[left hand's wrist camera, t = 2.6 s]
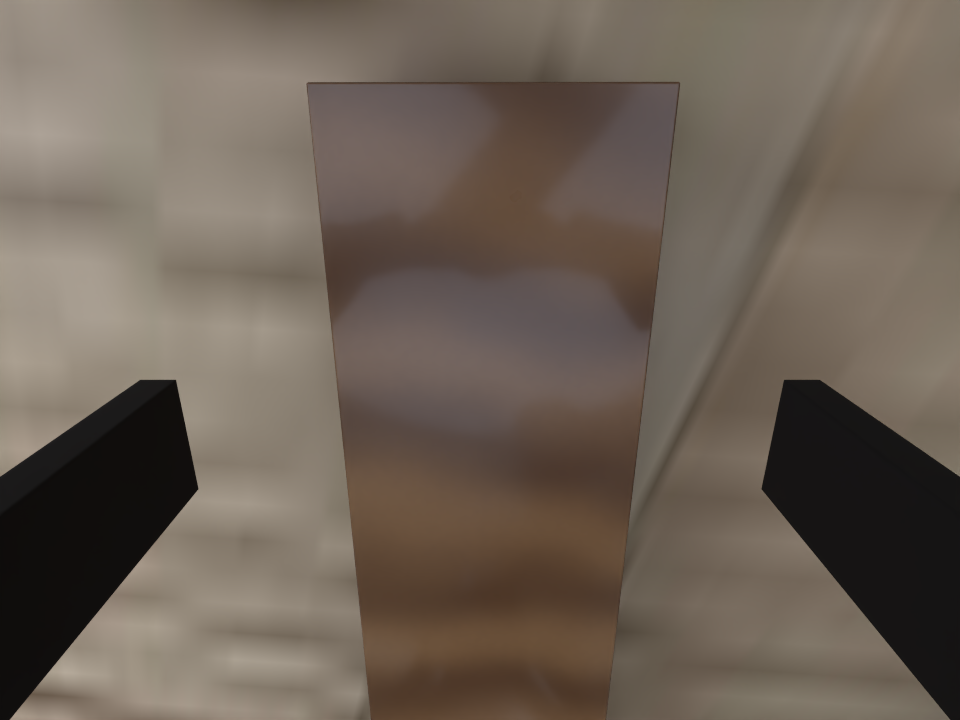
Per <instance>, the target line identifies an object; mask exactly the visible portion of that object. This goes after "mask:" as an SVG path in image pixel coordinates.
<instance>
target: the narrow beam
mask: <svg viewBox="0 0 960 720" xmlns="http://www.w3.org/2000/svg"><path fill="white" fill-rule="evenodd" d="M679 88H680V83H679V82H308V83H307V93H308V103H309V112H310V122H311V132H312V142H313V152H314V162H315V172H316V181H317V191H318V201H319V211H320V221H321V231H322V241H323V250H324V260H325V270H326V280H327V290H328V300H329V309H330V319H331V329H332V339H333V349H334V359H335V369H336V378H337V388H338V398H339V408H340V418H341V428H342V437H343V447H344V457H345V467H346V477H347V487H348V497H349V506H350V516H351V526H352V536H353V546H354V556H355V566H356V575H357V585H358V595H359V605H360V615H361V625H362V634H363V644H364V654H365V664H366V674H367V684H368V694H369V703H370V713H371V720H606V714H607V705H608V697H609V688H610V679H611V671H612V662H613V654H614V645H615V637H616V628H617V619H618V611H619V602H620V594H621V585H622V577H623V568H624V559H625V551H626V542H627V534H628V525H629V517H630V508H631V499H632V491H633V482H634V474H635V465H636V457H637V448H638V440H639V431H640V422H641V414H642V405H643V397H644V388H645V380H646V371H647V362H648V354H649V345H650V337H651V328H652V320H653V311H654V302H655V294H656V285H657V277H658V268H659V260H660V251H661V242H662V234H663V225H664V217H665V208H666V200H667V191H668V182H669V174H670V165H671V157H672V148H673V140H674V131H675V122H676V114H677V105H678V97H679Z"/></svg>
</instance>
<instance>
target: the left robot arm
mask: <svg viewBox="0 0 960 720" xmlns="http://www.w3.org/2000/svg"><path fill="white" fill-rule="evenodd" d="M197 490H198V485H197V480H196V475H195V470H194V465H193V460H192V456H191V451H190V446H189V441H188V436H187V431H186V427H185V422H184V417H183V412H182V407H181V402H180V398H179V393H178V388H177V383H176V380H140V381H138V382H137V383H135V384H134V385H132V386H131V387H129V388H128V389H127V390H125V391H124V392H122V393H121V394H119V395H118V396H116V397H115V398H114V399H112V400H111V401H109V402H108V403H106V404H105V405H103V406H102V407H101V408H99V409H98V410H96V411H95V412H93V413H92V414H90V415H89V416H88V417H86V418H85V419H83V420H82V421H80V422H79V423H77V424H76V425H74V426H73V427H72V428H70V429H69V430H67V431H66V432H64V433H63V434H61V435H60V436H59V437H57V438H56V439H54V440H53V441H51V442H50V443H48V444H47V445H46V446H44V447H43V448H41V449H40V450H38V451H37V452H35V453H34V454H33V455H31V456H30V457H28V458H27V459H25V460H24V461H22V462H21V463H20V464H18V465H17V466H15V467H14V468H12V469H11V470H9V471H8V472H7V473H5V474H4V475H2V476H1V477H0V720H10V719H11V717H12V716H13V715H14V714H15V713H16V711H17V710H18V709H19V708H20V706H21V705H22V704H23V703H24V702H25V700H26V699H27V698H28V697H29V695H30V694H31V693H32V692H33V691H34V689H35V688H36V687H37V686H38V684H39V683H40V682H41V681H42V680H43V678H44V677H45V676H46V675H47V673H48V672H49V671H50V670H51V669H52V667H53V666H54V665H55V664H56V662H57V661H58V660H59V659H60V658H61V656H62V655H63V654H64V653H65V651H66V650H67V649H68V648H69V647H70V645H71V644H72V643H73V642H74V640H75V639H76V638H77V637H78V636H79V634H80V633H81V632H82V631H83V629H84V628H85V627H86V626H87V625H88V623H89V622H90V621H91V620H92V618H93V617H94V616H95V615H96V614H97V612H98V611H99V610H100V609H101V607H102V606H103V605H104V604H105V603H106V601H107V600H108V599H109V598H110V596H111V595H112V594H113V593H114V592H115V590H116V589H117V588H118V587H119V585H120V584H121V583H122V582H123V581H124V579H125V578H126V577H127V576H128V574H129V573H130V572H131V571H132V570H133V568H134V567H135V566H136V565H137V563H138V562H139V561H140V560H141V559H142V557H143V556H144V555H145V554H146V552H147V551H148V550H149V549H150V548H151V546H152V545H153V544H154V543H155V541H156V540H157V539H158V538H159V537H160V535H161V534H162V533H163V532H164V530H165V529H166V528H167V527H168V526H169V524H170V523H171V522H172V521H173V519H174V518H175V517H176V516H177V515H178V513H179V512H180V511H181V510H182V509H183V507H184V506H185V505H186V504H187V502H188V501H189V500H190V499H191V498H192V496H193V495H194V494H195V493H196V491H197ZM762 490H763V491H764V493H765V494H766V495H767V496H768V498H769V499H770V500H771V501H772V502H773V504H774V505H775V506H776V507H777V509H778V510H779V511H780V512H781V513H782V515H783V516H784V517H785V518H786V519H787V521H788V522H789V523H790V524H791V526H792V527H793V528H794V529H795V530H796V532H797V533H798V534H799V535H800V537H801V538H802V539H803V540H804V541H805V543H806V544H807V545H808V546H809V548H810V549H811V550H812V551H813V552H814V554H815V555H816V556H817V557H818V559H819V560H820V561H821V562H822V563H823V565H824V566H825V567H826V568H827V570H828V571H829V572H830V573H831V574H832V576H833V577H834V578H835V579H836V581H837V582H838V583H839V584H840V585H841V587H842V588H843V589H844V590H845V592H846V593H847V594H848V595H849V596H850V598H851V599H852V600H853V601H854V603H855V604H856V605H857V606H858V607H859V609H860V610H861V611H862V612H863V614H864V615H865V616H866V617H867V618H868V620H869V621H870V622H871V623H872V625H873V626H874V627H875V628H876V629H877V631H878V632H879V633H880V634H881V636H882V637H883V638H884V639H885V640H886V642H887V643H888V644H889V645H890V647H891V648H892V649H893V650H894V651H895V653H896V654H897V655H898V656H899V658H900V659H901V660H902V661H903V662H904V664H905V665H906V666H907V667H908V669H909V670H910V671H911V672H912V673H913V675H914V676H915V677H916V678H917V680H918V681H919V682H920V683H921V684H922V686H923V687H924V688H925V689H926V691H927V692H928V693H929V694H930V695H931V697H932V698H933V699H934V700H935V702H936V703H937V704H938V705H939V706H940V708H941V709H942V710H943V711H944V713H945V714H946V715H947V716H948V717H949V719H950V720H960V477H959V476H958V475H956V474H955V473H953V472H952V471H951V470H949V469H948V468H946V467H945V466H943V465H942V464H940V463H939V462H938V461H936V460H935V459H933V458H932V457H930V456H929V455H927V454H926V453H925V452H923V451H922V450H920V449H919V448H917V447H916V446H914V445H913V444H912V443H910V442H909V441H907V440H906V439H904V438H903V437H901V436H900V435H899V434H897V433H896V432H894V431H893V430H891V429H890V428H888V427H887V426H886V425H884V424H883V423H881V422H880V421H878V420H877V419H875V418H874V417H872V416H871V415H870V414H868V413H867V412H865V411H864V410H862V409H861V408H859V407H858V406H857V405H855V404H854V403H852V402H851V401H849V400H848V399H846V398H845V397H844V396H842V395H841V394H839V393H838V392H836V391H835V390H833V389H832V388H831V387H829V386H828V385H826V384H825V383H823V382H822V381H820V380H784V383H783V388H782V393H781V398H780V402H779V407H778V412H777V417H776V422H775V427H774V431H773V436H772V441H771V446H770V451H769V456H768V460H767V465H766V470H765V475H764V480H763V485H762Z"/></svg>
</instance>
